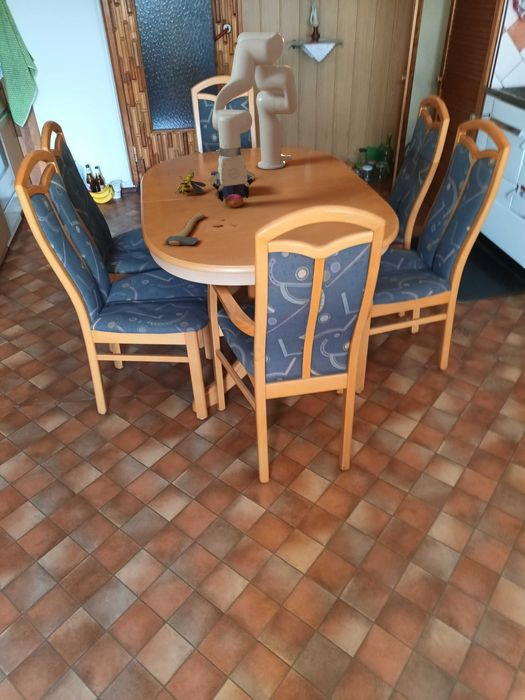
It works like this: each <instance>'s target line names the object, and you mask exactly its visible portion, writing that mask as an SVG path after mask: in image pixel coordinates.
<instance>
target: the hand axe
mask: <svg viewBox="0 0 525 700" xmlns="http://www.w3.org/2000/svg"><path fill="white" fill-rule="evenodd" d="M204 218H205V214H204V213H202V212H196V214H194V215H193V216H192V217H191V218H190V219H189V220H188V221H187V223H186V225H185V227H184V228H183V229H182V230H181V231H179V232H177V233H176V234H174V236H173V235H170V236H168V238H166V239H165V244H166V245H170V246H189V245H190V246H191V245H195V244H196V243H197V242H198V240H199V237H192V236H189V235H190V233H191V232H192V230H193V229H194V226H195V224H196V223H197V222H198V221H199V220H202V219H204Z"/></svg>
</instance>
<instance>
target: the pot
mask: <svg viewBox="0 0 525 700" xmlns="http://www.w3.org/2000/svg"><path fill="white" fill-rule="evenodd" d="M217 173H218V170H213V171H211V172H210V175H211V176H214V175H216V174H217ZM249 178H250V175H247V179H249ZM215 181H216V182H215V184H216V185H218V184H219V180H218V179H216V180H215ZM244 185H245V184H238V185H231V186H224V187H223V188H222V191H223V199H226V197H227V196H229V195H232V194H237V195H241V197H245V196H244ZM216 192H217V195H218V190H217V189H216Z"/></svg>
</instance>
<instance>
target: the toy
mask: <svg viewBox="0 0 525 700" xmlns="http://www.w3.org/2000/svg"><path fill="white" fill-rule="evenodd" d="M189 171H191V172H190V173H189V174H188V175H187V176H186V179H183V177H182V175H178V176H179V178H180V179H181V180H182V181H183V182H180V184H179V185H178V187H177V189H176V190H175V192H174V194H177V192H178V191H181V193H180V194H181V195H184V194H185V196H188V195H189V194H190V192H191V190H192V189H193V190H194V191H195V192H196V193H197V194H204V193H205V192H204V189H202V188H205V187H206V186H207V185H206V183H204V182H201V181H195V180H192V179H193V178H195V172H196V169H194V171H193V170H192V169H188V170H187V172H189ZM189 184H190V185H191V186H190V185H189ZM191 188H192V189H191Z"/></svg>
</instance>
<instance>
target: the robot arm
mask: <svg viewBox="0 0 525 700" xmlns="http://www.w3.org/2000/svg"><path fill="white" fill-rule="evenodd" d="M283 51H284V38H283V36H282V34H281V33H280V32H278V31H243V32H241V33H240V34H238V36H237V39H236V46H235V48H234V53H233V59H232V67H231V73H230V79H229V81H228V82H227V83H226V84H224V86H223V87H222V88H221V89H220V91H219V92H218V94H217V95H216V97H215V99H214V103H213V109H212V116H211V118H212V119H211V122H212V127H213V129H214V130H215V131H216V132H218V139H219V142H218V143H219V147H218V149H216V150H215V153H216V154H217V155H219V156H218V162H217V163H218V164H217V171H218V173H217V174H216V175H212V177H210V178H209V180H208V181H209V182H210V184H211V185H212V187H213V188H214V189H215V190H216V191H217V190H218V194H217V199H218V200H219V201H220V202H222V203H223V202H224V198H223V191H222V188H223V187H224V186H231V185H238V184H245V185H244V196H243V197H245V199H249V195H250V187H251V184H253V182H254V179H255V177H256V173H255V172H253V171H250V170H247V164H246V159H245V155H244V154H243V153H242V143H241V134H243V133H247V132H248V131H250V129H251V128H252V126H253V117H252V114H251V113H250V111H248V110H245V109H228V108H227V109H226V107H227V105H228V104H229V103H230V102H231V101H232V100H234V99H236V98H238V97H239V96H241V95H243V94H245V93H247V92H249V91H251V90H252V89H253V87H254V84H256V87H257V89H258V90H259V92H258V93H257V95H256V98H255V103H256V109H257V114H258V122H259V123H258V124H259V125H258V126H259V145H260V147H259V148H260V161H259V162H257V167H258V168H259V169H262V170H278V169H281V168H284V167H285V166H286V161H291V160H293V156H292V154H290V155H288V154H283V153H282V151H283V150H282V124H281V121H280V119H279V118H278V116H277V115H292V114H294V113H295V112H296V111H297V109H298V95H297V89H296V88H297V87H296V79H295V72H294V70H293V69H292V67H291V66H289V65H276V64H275V63H276V62H277V60H278V59H279V58H280V57H281V55H282V53H283ZM247 175H250V178H249V180H248V181H247ZM216 179H218V180H219V184H218V185H217V183H216V182H215V181H216Z"/></svg>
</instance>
